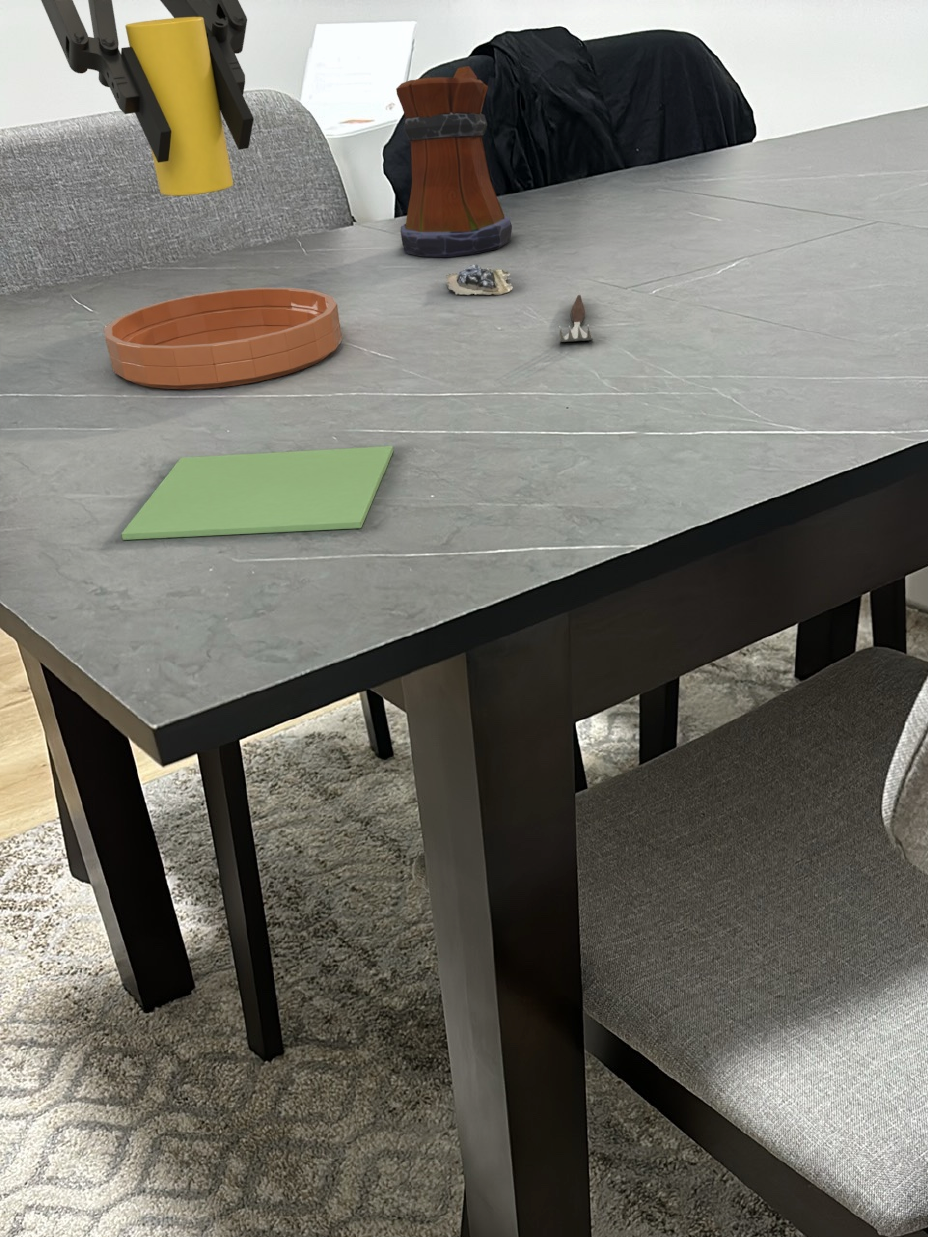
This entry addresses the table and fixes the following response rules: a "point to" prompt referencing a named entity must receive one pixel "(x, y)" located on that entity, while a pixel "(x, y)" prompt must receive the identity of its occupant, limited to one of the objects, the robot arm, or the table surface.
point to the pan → (223, 337)
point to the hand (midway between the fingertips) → (205, 139)
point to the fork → (576, 324)
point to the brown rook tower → (449, 169)
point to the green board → (263, 493)
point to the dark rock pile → (479, 281)
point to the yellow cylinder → (184, 103)
